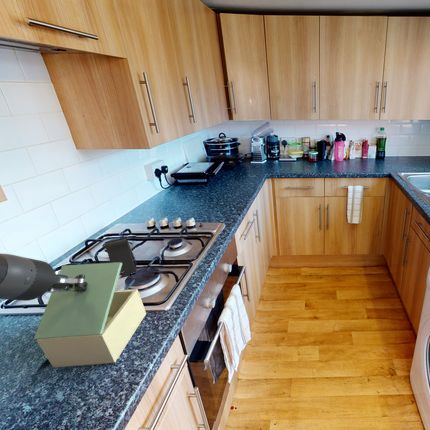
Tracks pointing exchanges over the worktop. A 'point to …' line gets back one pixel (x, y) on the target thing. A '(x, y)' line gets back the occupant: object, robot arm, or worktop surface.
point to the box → (99, 344)
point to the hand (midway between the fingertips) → (83, 287)
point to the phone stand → (121, 255)
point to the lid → (81, 303)
